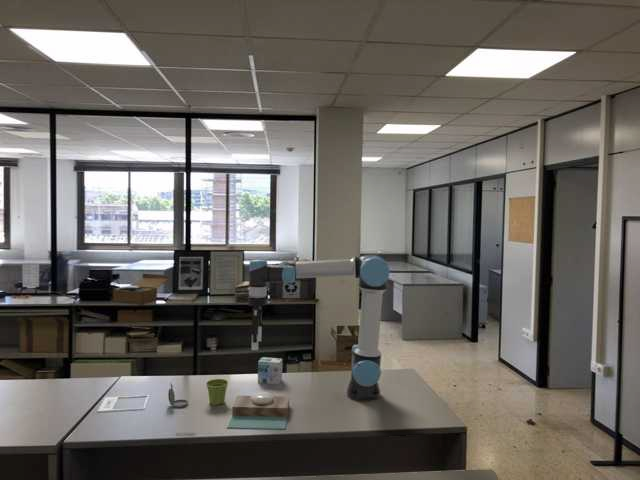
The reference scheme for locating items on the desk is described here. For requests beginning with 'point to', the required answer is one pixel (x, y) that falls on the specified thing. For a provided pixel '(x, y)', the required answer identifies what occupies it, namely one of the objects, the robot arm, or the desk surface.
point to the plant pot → (217, 390)
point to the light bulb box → (270, 370)
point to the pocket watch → (178, 402)
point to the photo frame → (111, 401)
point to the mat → (257, 422)
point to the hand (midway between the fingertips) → (256, 345)
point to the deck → (261, 407)
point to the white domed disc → (261, 398)
